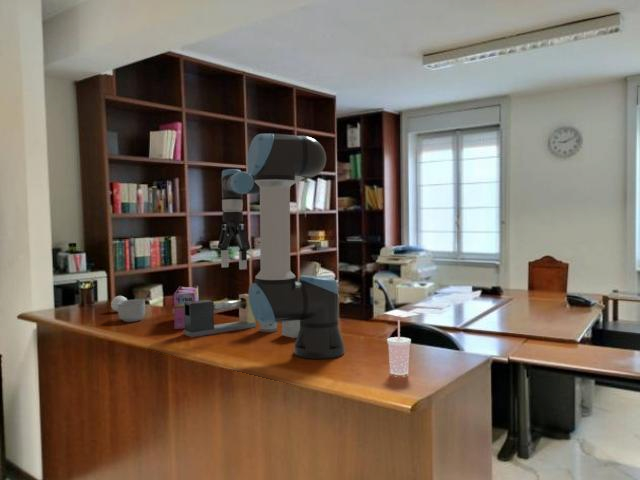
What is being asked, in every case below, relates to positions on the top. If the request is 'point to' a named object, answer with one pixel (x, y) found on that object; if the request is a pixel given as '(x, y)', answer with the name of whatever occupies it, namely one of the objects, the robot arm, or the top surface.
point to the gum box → (179, 298)
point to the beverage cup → (399, 353)
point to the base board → (221, 329)
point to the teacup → (131, 310)
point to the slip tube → (229, 304)
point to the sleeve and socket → (211, 314)
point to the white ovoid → (116, 300)
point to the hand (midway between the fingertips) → (233, 268)
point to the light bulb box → (291, 328)
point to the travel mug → (268, 327)
